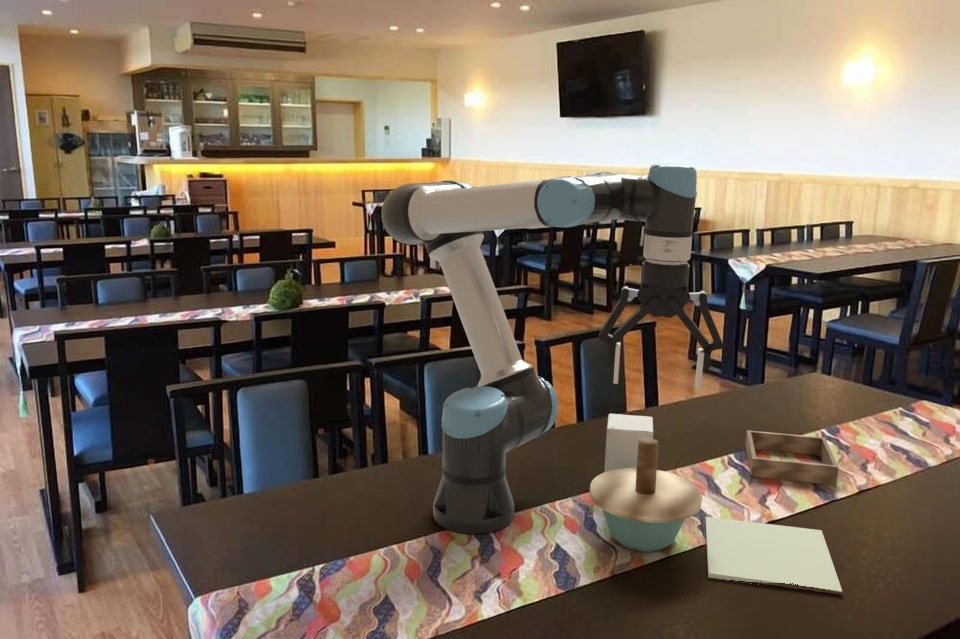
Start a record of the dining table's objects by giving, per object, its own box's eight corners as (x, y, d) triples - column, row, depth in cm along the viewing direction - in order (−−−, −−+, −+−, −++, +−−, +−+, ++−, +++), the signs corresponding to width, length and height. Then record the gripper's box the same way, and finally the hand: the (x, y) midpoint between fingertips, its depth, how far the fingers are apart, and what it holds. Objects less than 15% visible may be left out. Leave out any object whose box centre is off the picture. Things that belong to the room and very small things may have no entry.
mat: (708, 577, 129) (708, 573, 128) (705, 520, 147) (705, 516, 147) (841, 595, 124) (842, 591, 124) (821, 534, 143) (821, 530, 143)
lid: (582, 514, 132) (585, 456, 130) (596, 468, 150) (599, 417, 148) (701, 529, 127) (706, 470, 125) (701, 480, 145) (705, 428, 143)
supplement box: (649, 505, 153) (654, 432, 150) (602, 500, 155) (605, 428, 152) (649, 485, 162) (653, 415, 159) (604, 481, 164) (608, 412, 160)
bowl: (704, 539, 141) (708, 496, 139) (657, 573, 130) (660, 527, 128) (629, 510, 151) (631, 470, 149) (579, 539, 140) (581, 496, 138)
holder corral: (751, 476, 167) (752, 458, 166) (745, 446, 182) (746, 430, 181) (836, 485, 163) (838, 467, 162) (823, 454, 178) (825, 437, 177)
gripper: (587, 260, 129) (580, 385, 134) (749, 269, 124) (735, 398, 129) (590, 253, 136) (583, 372, 141) (743, 261, 131) (730, 383, 136)
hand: (656, 384), depth 135 cm, fingers open, 13 cm apart
